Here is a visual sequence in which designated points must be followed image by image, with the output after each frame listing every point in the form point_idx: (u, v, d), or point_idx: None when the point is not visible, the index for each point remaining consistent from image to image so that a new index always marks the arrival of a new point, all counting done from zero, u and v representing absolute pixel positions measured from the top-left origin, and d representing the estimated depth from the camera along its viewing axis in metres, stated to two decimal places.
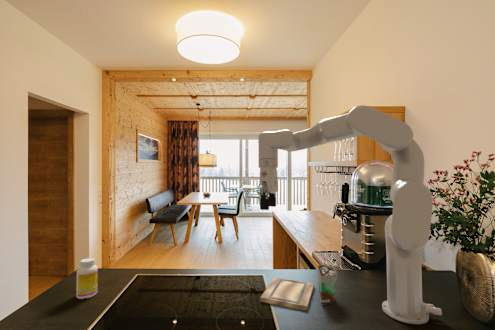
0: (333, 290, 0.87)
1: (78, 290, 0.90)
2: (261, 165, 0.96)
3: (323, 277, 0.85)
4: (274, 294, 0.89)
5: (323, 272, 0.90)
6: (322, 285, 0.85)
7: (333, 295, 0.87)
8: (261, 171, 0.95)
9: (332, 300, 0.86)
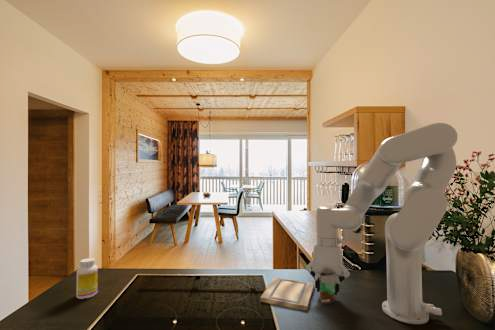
0: (333, 290, 0.86)
1: (78, 290, 0.90)
2: (337, 245, 0.87)
3: (323, 277, 0.85)
4: (274, 294, 0.89)
5: None
6: (322, 285, 0.85)
7: (333, 295, 0.87)
8: (340, 251, 0.87)
9: (332, 300, 0.86)
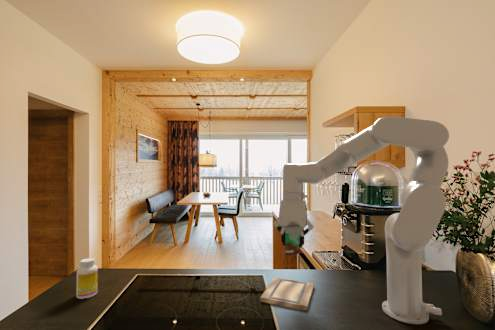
0: (297, 242, 0.90)
1: (78, 290, 0.90)
2: (301, 199, 0.91)
3: (287, 228, 0.88)
4: (274, 294, 0.89)
5: None
6: (286, 236, 0.88)
7: (297, 247, 0.90)
8: (304, 205, 0.91)
9: (296, 251, 0.90)
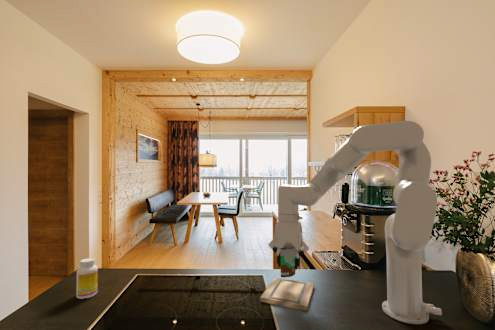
0: (293, 264, 0.90)
1: (78, 290, 0.90)
2: (296, 221, 0.91)
3: (282, 251, 0.88)
4: (274, 294, 0.89)
5: None
6: (281, 258, 0.88)
7: (293, 269, 0.90)
8: (299, 227, 0.91)
9: (292, 273, 0.90)
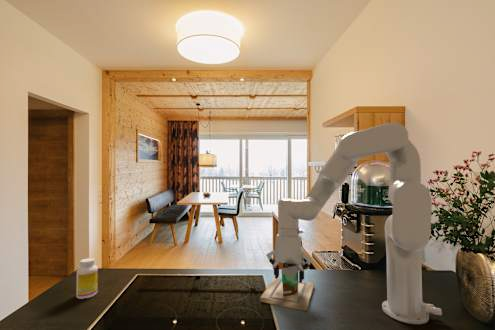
0: (295, 281, 0.89)
1: (78, 290, 0.90)
2: (296, 235, 0.91)
3: (283, 269, 0.88)
4: (274, 294, 0.89)
5: (286, 264, 0.93)
6: (283, 277, 0.88)
7: (295, 286, 0.90)
8: (299, 241, 0.91)
9: (294, 291, 0.89)
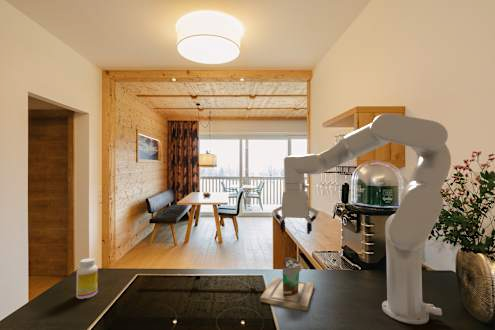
0: (295, 282, 0.89)
1: (78, 290, 0.90)
2: (302, 189, 0.94)
3: (284, 269, 0.88)
4: (274, 294, 0.89)
5: (287, 264, 0.93)
6: (284, 277, 0.88)
7: (295, 287, 0.90)
8: (306, 195, 0.94)
9: (294, 292, 0.89)
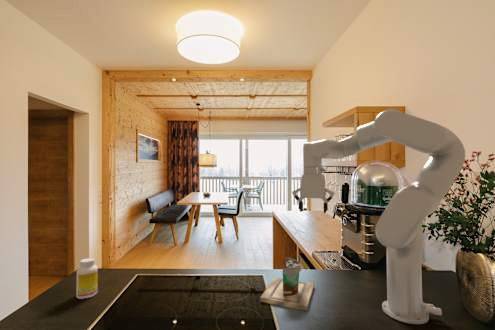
0: (295, 282, 0.89)
1: (78, 290, 0.90)
2: (320, 172, 1.04)
3: (284, 269, 0.88)
4: (274, 294, 0.89)
5: (287, 264, 0.93)
6: (284, 277, 0.88)
7: (295, 287, 0.90)
8: (323, 178, 1.04)
9: (294, 292, 0.89)
